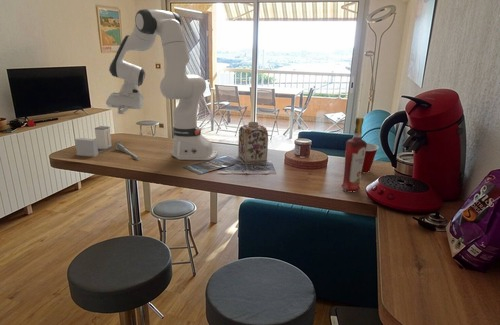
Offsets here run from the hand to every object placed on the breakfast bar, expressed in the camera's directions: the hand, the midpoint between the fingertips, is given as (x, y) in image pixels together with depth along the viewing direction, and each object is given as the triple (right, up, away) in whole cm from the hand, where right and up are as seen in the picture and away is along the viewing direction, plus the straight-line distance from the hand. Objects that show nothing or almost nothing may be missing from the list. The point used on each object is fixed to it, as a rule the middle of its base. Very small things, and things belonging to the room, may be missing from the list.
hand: (120, 113), depth 181 cm
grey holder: (-4, -23, -18) cm, 29 cm away
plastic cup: (+123, -31, -33) cm, 131 cm away
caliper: (+12, -24, -20) cm, 33 cm away
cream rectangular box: (-3, -19, -13) cm, 23 cm away
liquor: (+110, -38, -55) cm, 129 cm away
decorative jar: (+73, -25, -18) cm, 79 cm away
